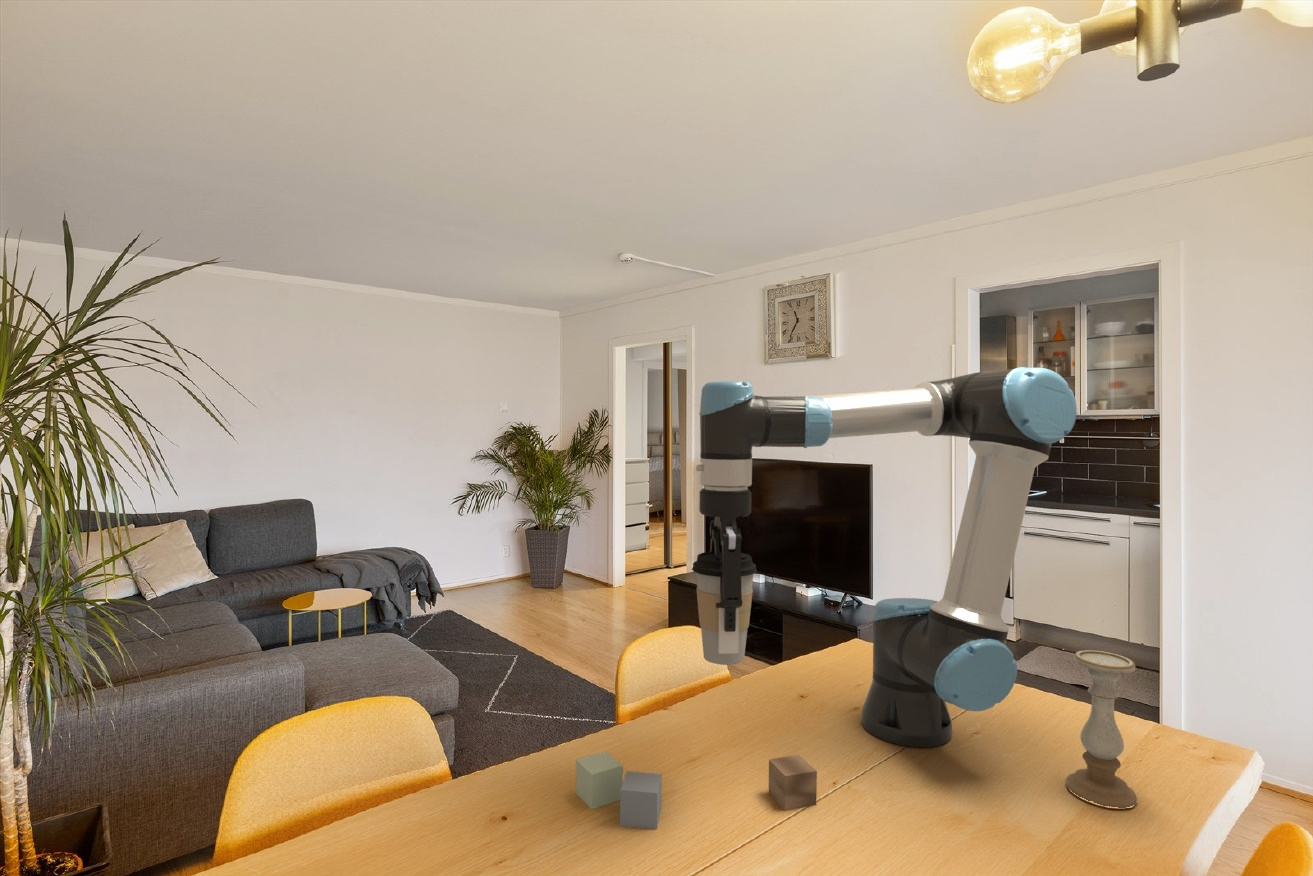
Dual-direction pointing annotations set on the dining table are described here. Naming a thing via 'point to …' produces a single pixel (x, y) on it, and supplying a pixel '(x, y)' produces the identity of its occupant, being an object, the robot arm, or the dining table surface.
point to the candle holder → (1102, 734)
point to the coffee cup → (710, 595)
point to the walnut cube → (792, 782)
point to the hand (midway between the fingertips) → (723, 642)
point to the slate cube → (640, 800)
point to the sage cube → (599, 779)
